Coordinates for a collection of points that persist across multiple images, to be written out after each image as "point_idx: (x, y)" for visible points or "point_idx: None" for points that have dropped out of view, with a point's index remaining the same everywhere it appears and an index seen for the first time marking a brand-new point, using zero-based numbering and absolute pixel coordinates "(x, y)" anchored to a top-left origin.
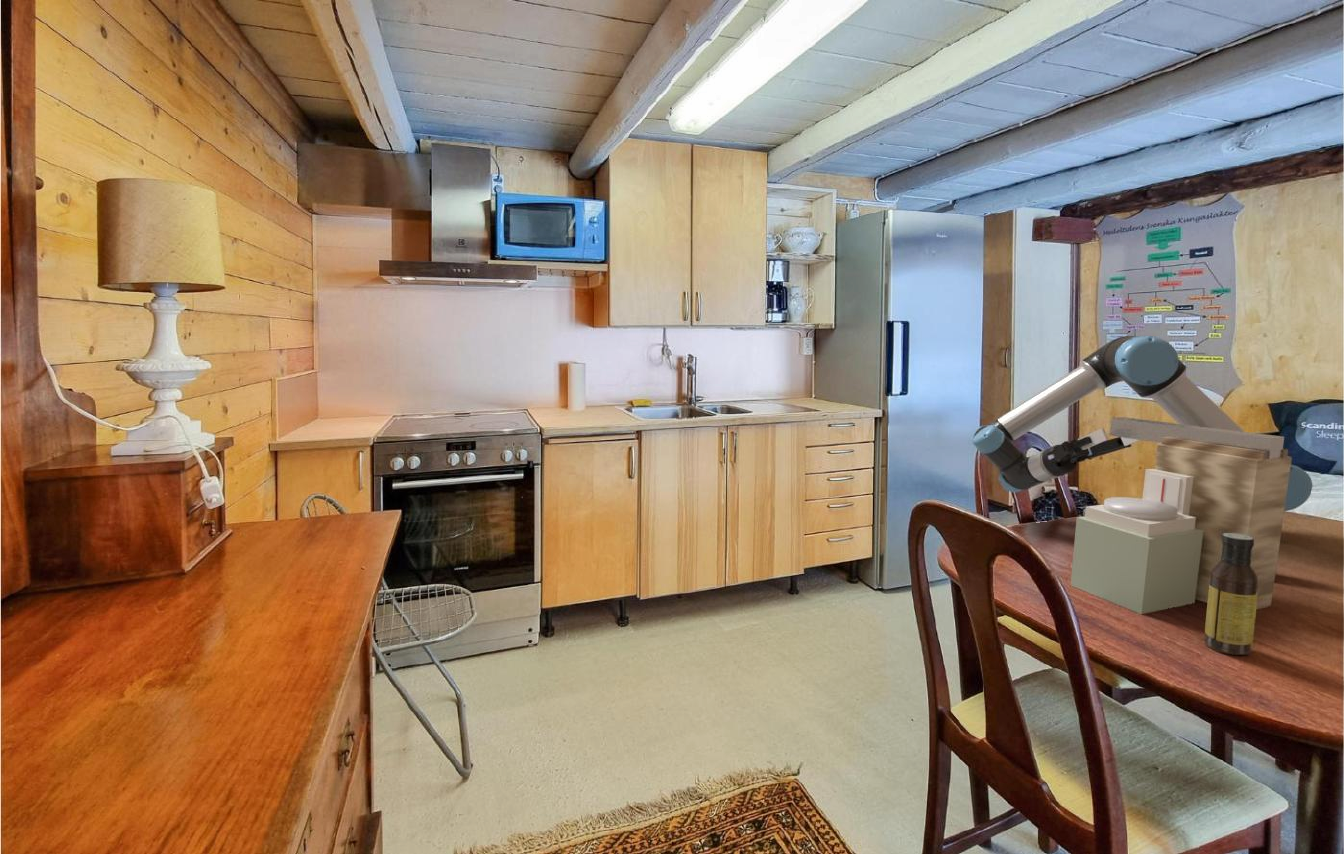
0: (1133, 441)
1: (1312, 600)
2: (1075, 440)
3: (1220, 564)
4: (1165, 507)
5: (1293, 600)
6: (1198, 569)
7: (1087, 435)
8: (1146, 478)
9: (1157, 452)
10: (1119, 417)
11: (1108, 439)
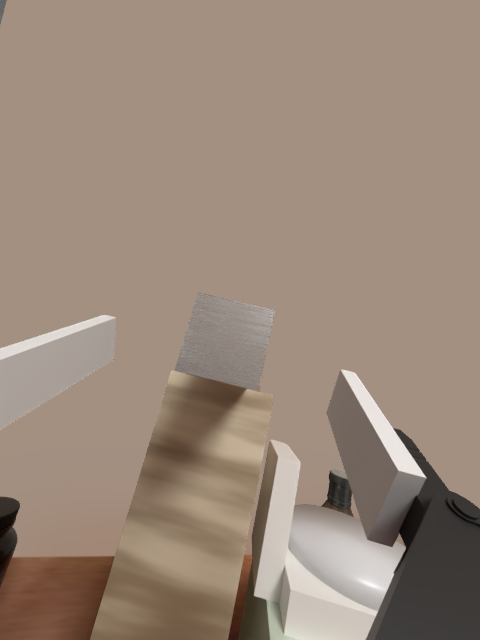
0: (55, 390)
1: (72, 571)
2: (450, 496)
3: (350, 513)
4: (312, 513)
5: (89, 585)
6: (244, 603)
7: (383, 421)
8: (296, 484)
9: (270, 413)
10: (221, 298)
11: (328, 412)
